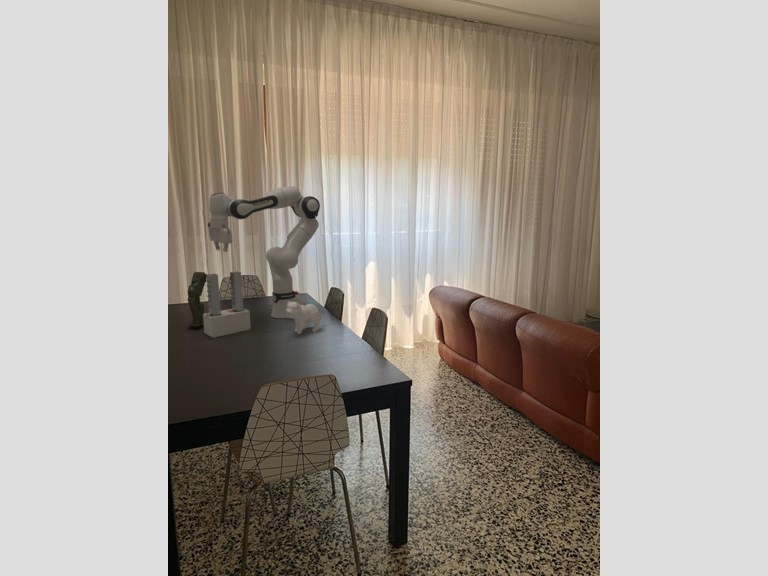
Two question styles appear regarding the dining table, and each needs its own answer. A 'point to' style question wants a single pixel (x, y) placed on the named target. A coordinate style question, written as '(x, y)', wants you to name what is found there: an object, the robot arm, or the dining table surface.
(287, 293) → the robot arm
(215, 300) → the column
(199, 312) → the mechanical leg
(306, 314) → the white animal figurine
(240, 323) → the frame
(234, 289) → the column
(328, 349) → the dining table surface
